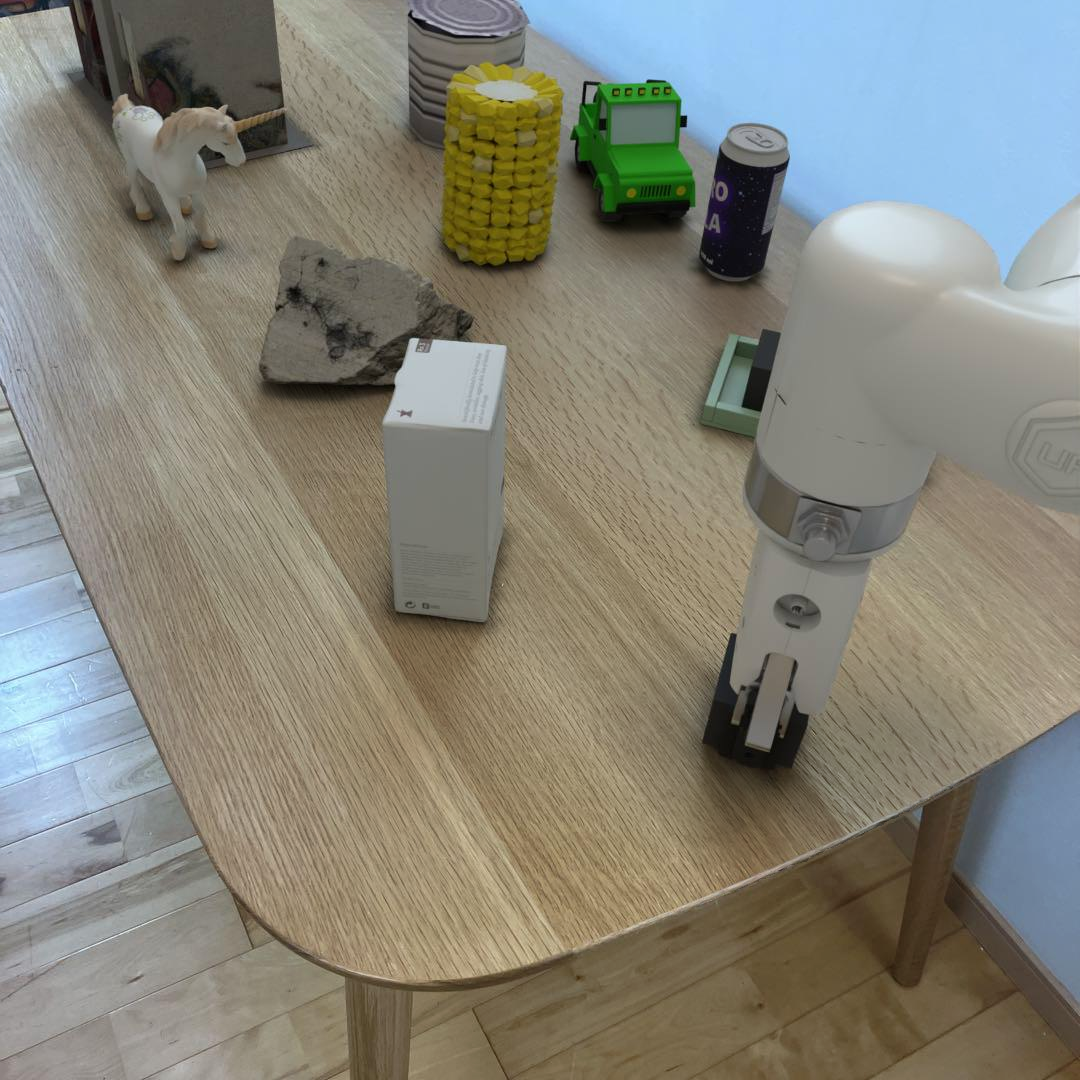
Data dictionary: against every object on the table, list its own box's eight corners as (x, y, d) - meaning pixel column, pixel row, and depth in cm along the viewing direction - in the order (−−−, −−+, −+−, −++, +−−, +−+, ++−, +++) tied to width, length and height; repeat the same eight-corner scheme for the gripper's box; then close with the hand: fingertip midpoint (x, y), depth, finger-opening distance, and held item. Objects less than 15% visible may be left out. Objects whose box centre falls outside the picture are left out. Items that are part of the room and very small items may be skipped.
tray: (929, 399, 86) (936, 381, 85) (920, 478, 79) (927, 459, 78) (725, 351, 89) (729, 332, 87) (700, 423, 82) (704, 404, 81)
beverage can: (728, 244, 100) (755, 114, 91) (775, 273, 97) (808, 141, 89) (683, 263, 97) (707, 131, 89) (730, 293, 94) (759, 160, 86)
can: (444, 92, 118) (444, -29, 109) (541, 120, 115) (549, -2, 106) (387, 135, 110) (382, 8, 102) (489, 165, 107) (493, 38, 99)
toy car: (604, 237, 99) (617, 129, 92) (562, 146, 111) (570, 44, 104) (695, 232, 101) (714, 126, 94) (643, 143, 113) (657, 42, 105)
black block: (816, 386, 86) (829, 343, 83) (807, 425, 82) (820, 382, 79) (752, 371, 86) (763, 328, 83) (740, 409, 83) (751, 365, 80)
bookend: (153, 181, 101) (116, -7, 90) (66, 73, 115) (24, -101, 103) (313, 144, 108) (298, -34, 96) (213, 47, 122) (189, -119, 110)
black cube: (804, 699, 64) (820, 656, 62) (791, 769, 61) (807, 726, 58) (719, 675, 65) (731, 631, 63) (701, 743, 62) (713, 700, 59)
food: (430, 276, 96) (475, 226, 103) (558, 281, 92) (595, 228, 99) (392, 95, 87) (443, 54, 94) (532, 91, 83) (576, 49, 90)
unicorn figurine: (239, 300, 89) (215, 141, 80) (80, 215, 96) (40, 59, 87) (303, 263, 93) (287, 108, 84) (146, 184, 101) (115, 33, 91)
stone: (494, 377, 84) (499, 261, 77) (269, 416, 80) (253, 296, 72) (450, 293, 92) (450, 180, 85) (242, 324, 87) (224, 207, 80)
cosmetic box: (487, 625, 67) (496, 437, 57) (388, 614, 68) (378, 424, 57) (503, 527, 73) (514, 341, 63) (412, 517, 73) (407, 329, 63)
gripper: (899, 641, 44) (798, 870, 57) (929, 389, 55) (839, 627, 68) (711, 591, 45) (654, 825, 58) (778, 356, 57) (718, 595, 70)
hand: (755, 716), depth 63 cm, fingers closed on black cube, 5 cm apart
